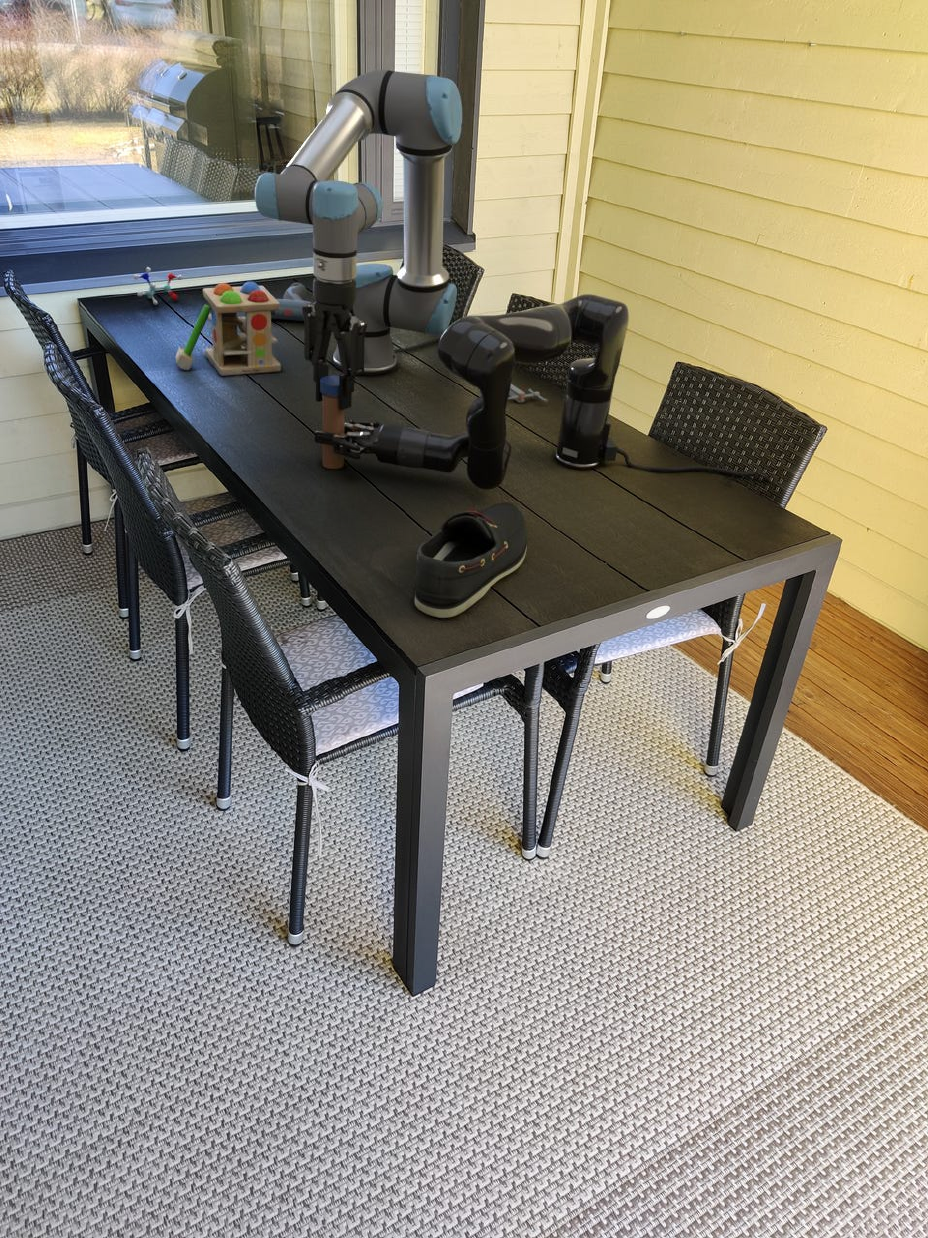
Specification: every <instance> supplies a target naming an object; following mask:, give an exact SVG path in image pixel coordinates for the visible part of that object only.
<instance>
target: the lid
mask: <svg viewBox="0 0 928 1238" xmlns="http://www.w3.org/2000/svg"><path fill="white" fill-rule="evenodd" d="M339 376H340V375H329V376H325V377H322V378H321V379H320V392H321V393H322V394H324V395H327V396H339Z"/></svg>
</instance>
